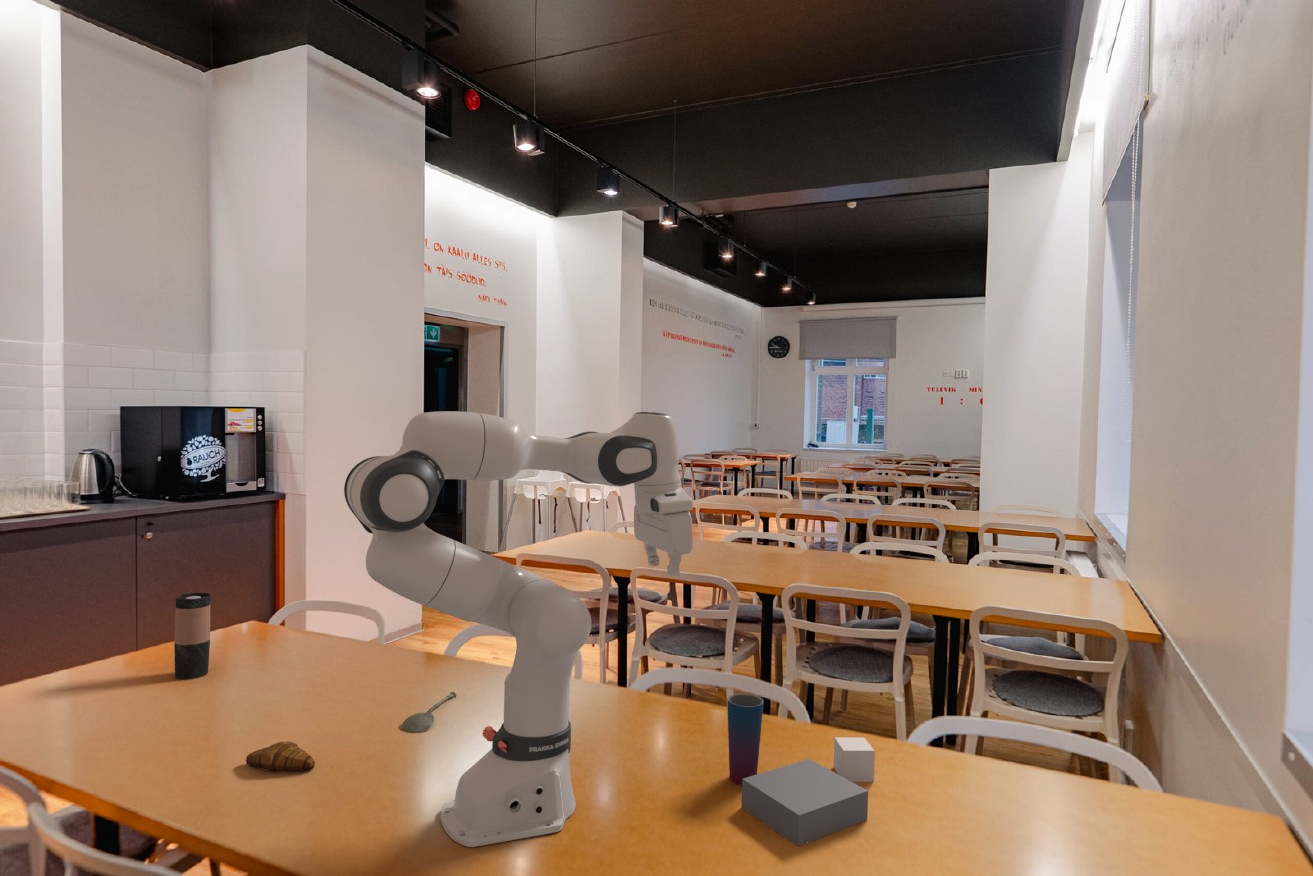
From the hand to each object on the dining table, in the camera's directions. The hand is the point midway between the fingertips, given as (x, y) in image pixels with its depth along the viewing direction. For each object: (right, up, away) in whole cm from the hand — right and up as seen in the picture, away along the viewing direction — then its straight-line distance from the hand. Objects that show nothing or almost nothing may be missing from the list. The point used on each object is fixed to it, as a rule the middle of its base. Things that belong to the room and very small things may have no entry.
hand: (663, 570), depth 140 cm
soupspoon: (-52, -38, +27) cm, 69 cm away
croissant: (-72, -37, -1) cm, 81 cm away
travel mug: (-119, -35, +47) cm, 133 cm away
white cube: (+37, -40, +3) cm, 54 cm away
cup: (+15, -39, 0) cm, 42 cm away
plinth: (+24, -40, -12) cm, 48 cm away
